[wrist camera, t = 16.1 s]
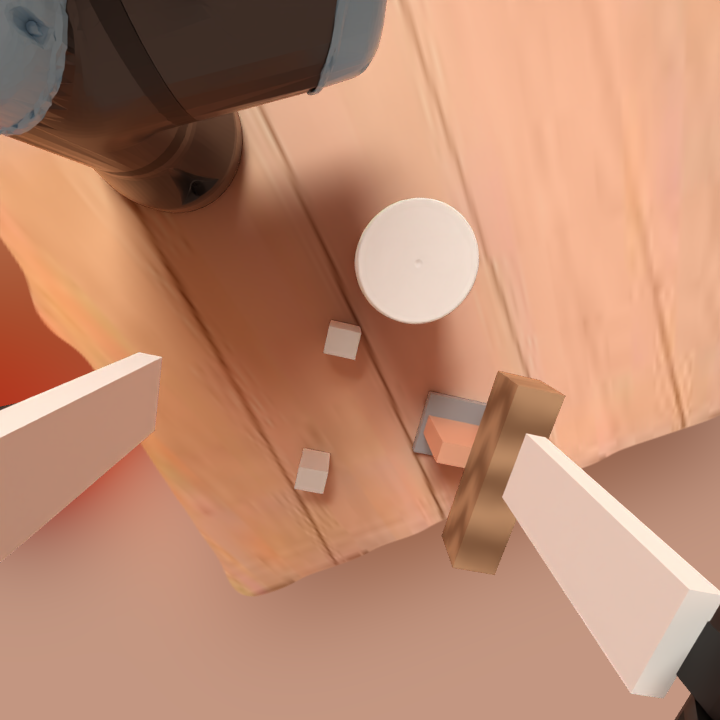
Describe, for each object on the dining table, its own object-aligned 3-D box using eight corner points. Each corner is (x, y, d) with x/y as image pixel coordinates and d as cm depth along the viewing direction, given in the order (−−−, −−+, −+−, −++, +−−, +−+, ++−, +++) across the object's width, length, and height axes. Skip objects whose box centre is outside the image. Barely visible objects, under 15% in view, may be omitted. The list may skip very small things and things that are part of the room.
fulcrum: (412, 447, 47) (424, 483, 40) (429, 391, 45) (445, 417, 38) (499, 465, 48) (527, 503, 41) (519, 410, 46) (553, 439, 39)
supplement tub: (392, 198, 40) (416, 161, 25) (455, 256, 41) (510, 253, 27) (336, 268, 41) (329, 270, 27) (398, 321, 43) (422, 350, 29)
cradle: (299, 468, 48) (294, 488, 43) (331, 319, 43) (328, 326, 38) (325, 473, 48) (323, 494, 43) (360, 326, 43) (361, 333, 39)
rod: (479, 542, 42) (494, 574, 37) (441, 535, 41) (452, 567, 37) (539, 380, 37) (565, 395, 32) (498, 370, 36) (518, 385, 32)
